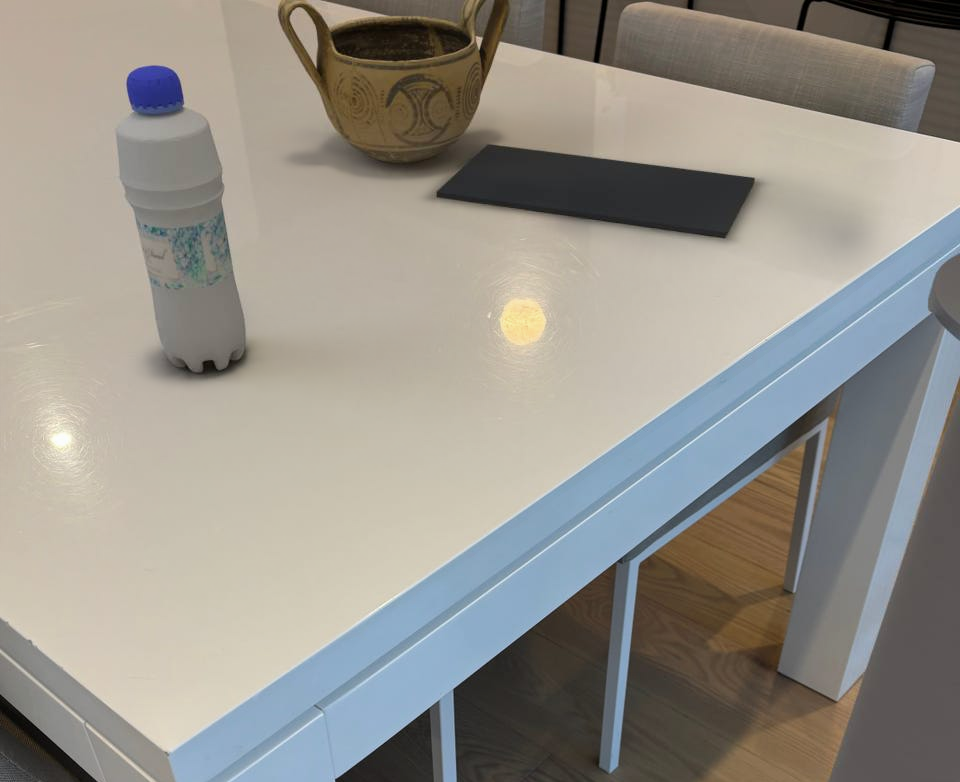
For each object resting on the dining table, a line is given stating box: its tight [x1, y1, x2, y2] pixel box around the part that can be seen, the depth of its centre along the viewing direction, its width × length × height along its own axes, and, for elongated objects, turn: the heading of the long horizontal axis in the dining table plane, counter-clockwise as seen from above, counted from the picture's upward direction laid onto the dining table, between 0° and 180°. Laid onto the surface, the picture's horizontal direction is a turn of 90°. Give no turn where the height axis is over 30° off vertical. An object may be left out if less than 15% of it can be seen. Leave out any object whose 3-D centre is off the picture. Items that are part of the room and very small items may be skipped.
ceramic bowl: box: [277, 0, 511, 164], centre depth 107 cm, size 22×17×15 cm
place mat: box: [436, 143, 756, 238], centre depth 104 cm, size 28×14×1 cm, turn 69°
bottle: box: [115, 64, 247, 374], centre depth 74 cm, size 7×7×20 cm
